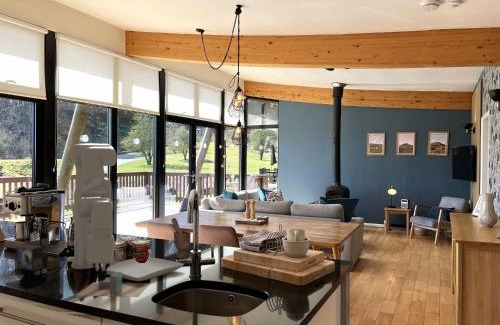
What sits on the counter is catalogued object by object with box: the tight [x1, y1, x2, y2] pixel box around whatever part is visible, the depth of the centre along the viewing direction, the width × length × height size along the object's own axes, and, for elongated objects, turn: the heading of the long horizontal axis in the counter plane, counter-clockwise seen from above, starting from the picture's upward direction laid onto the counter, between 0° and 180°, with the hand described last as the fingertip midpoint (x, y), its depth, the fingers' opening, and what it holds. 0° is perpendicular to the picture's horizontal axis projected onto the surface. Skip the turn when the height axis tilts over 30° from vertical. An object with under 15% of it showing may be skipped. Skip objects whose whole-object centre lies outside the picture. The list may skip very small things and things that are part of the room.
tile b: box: [109, 272, 123, 295], centre depth 159 cm, size 2×6×7 cm, turn 176°
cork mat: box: [74, 281, 152, 298], centre depth 163 cm, size 24×16×1 cm, turn 86°
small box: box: [15, 244, 44, 272], centre depth 195 cm, size 11×6×10 cm, turn 68°
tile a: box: [98, 277, 110, 288], centre depth 167 cm, size 2×6×7 cm
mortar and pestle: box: [170, 217, 192, 260], centre depth 216 cm, size 12×9×20 cm
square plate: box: [107, 256, 185, 282], centre depth 186 cm, size 27×27×4 cm
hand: (101, 280), depth 160 cm, fingers closed
